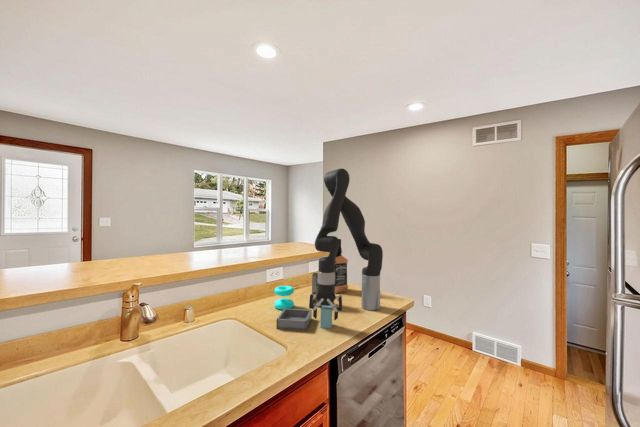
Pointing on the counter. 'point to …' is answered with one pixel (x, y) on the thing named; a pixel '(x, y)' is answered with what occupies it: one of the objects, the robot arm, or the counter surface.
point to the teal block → (326, 317)
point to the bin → (294, 319)
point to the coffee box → (315, 287)
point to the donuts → (284, 302)
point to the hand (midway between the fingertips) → (325, 318)
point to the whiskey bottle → (340, 272)
